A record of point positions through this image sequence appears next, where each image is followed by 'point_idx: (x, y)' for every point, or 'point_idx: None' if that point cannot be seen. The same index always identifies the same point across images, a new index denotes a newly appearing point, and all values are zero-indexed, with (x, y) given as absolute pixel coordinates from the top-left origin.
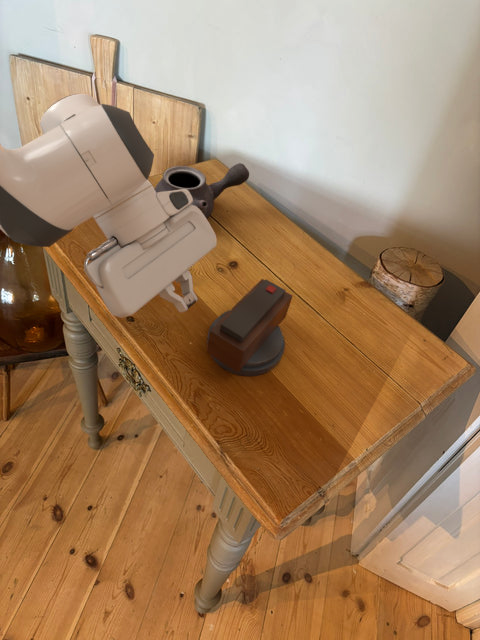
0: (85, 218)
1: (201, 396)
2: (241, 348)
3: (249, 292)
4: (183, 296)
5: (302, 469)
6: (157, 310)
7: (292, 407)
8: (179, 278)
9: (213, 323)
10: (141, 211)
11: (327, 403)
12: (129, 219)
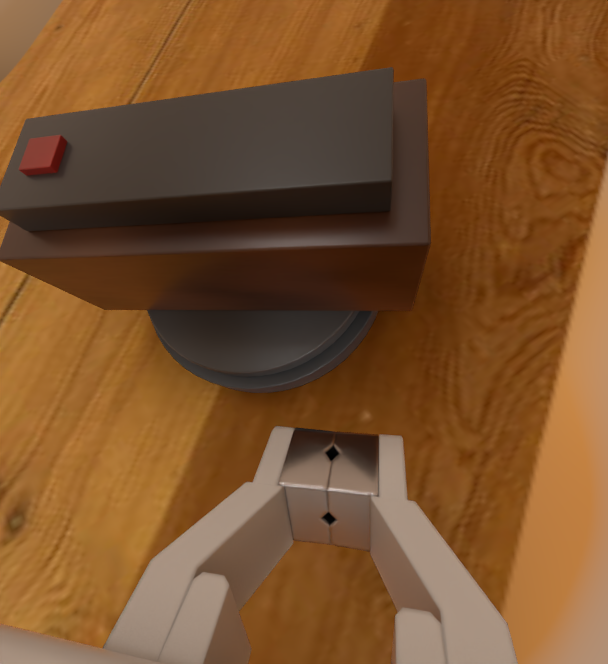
0: None
1: (518, 268)
2: (419, 90)
3: (96, 250)
4: (331, 512)
5: (503, 7)
6: (310, 629)
7: None
8: (229, 658)
9: (263, 383)
10: None
11: (312, 58)
12: None
